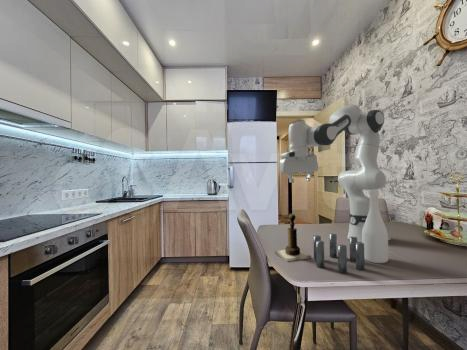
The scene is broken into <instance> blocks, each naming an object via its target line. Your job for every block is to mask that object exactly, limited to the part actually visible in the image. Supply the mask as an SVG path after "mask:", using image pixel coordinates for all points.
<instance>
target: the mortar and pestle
mask: <svg viewBox="0 0 467 350" xmlns="http://www.w3.org/2000/svg"><path fill="white" fill-rule="evenodd" d="M288 219H289V221H290V223H289V227H288V228H287V245H286V247H285V248H284V250H286V254H288V255H299V254H300V250H301V248H300V247H299V246H298V239H297V238H298V236H297V235H298V233H297V232H298V230H297V228H295V223H294V222H295V219H296V215H295V214H294V213H289V215H288Z"/></svg>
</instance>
